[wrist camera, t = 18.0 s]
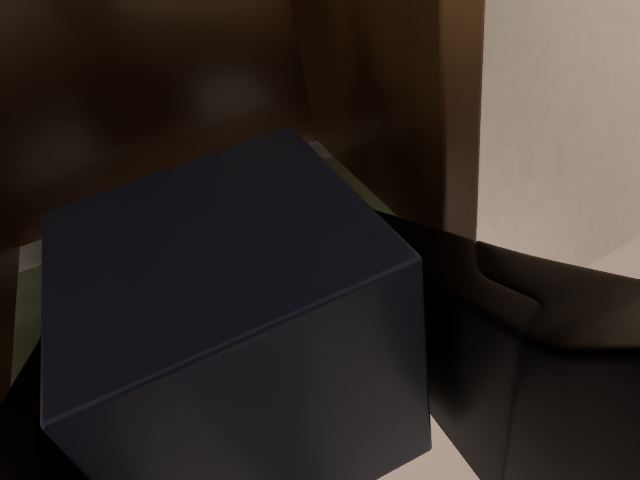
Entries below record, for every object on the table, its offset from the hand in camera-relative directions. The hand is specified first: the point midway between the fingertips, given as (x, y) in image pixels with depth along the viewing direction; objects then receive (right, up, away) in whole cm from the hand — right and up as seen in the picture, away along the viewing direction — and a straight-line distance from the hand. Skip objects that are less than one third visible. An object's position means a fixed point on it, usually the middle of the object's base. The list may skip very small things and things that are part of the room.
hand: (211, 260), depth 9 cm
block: (0, 0, 0) cm, 0 cm away
